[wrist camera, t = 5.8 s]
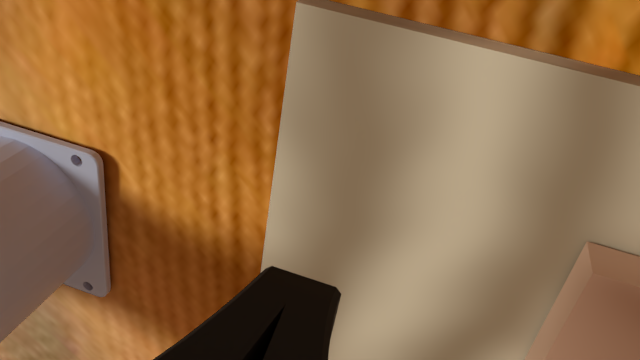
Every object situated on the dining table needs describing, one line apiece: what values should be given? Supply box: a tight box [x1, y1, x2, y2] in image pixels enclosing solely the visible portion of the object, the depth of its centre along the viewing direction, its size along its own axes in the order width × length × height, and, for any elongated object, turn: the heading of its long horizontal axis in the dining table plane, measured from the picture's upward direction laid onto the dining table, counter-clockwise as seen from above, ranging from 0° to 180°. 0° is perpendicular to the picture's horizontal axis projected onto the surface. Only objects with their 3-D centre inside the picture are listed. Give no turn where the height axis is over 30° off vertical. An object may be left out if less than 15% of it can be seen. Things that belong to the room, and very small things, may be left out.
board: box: [261, 0, 640, 360], centre depth 20 cm, size 17×16×1 cm
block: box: [524, 242, 640, 360], centre depth 18 cm, size 2×6×6 cm
